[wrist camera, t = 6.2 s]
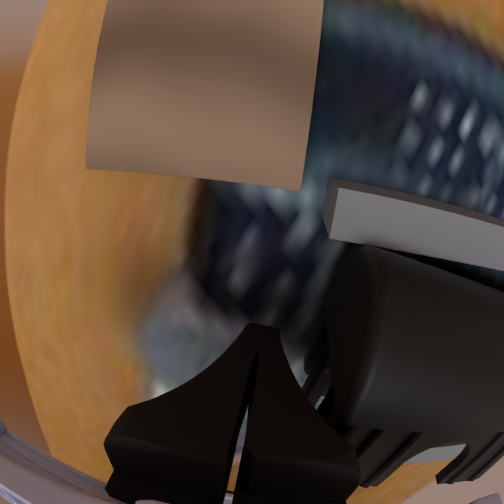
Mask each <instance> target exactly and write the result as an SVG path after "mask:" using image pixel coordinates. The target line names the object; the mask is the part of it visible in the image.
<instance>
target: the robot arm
mask: <svg viewBox="0 0 504 504" xmlns="http://www.w3.org/2000/svg"><path fill="white" fill-rule="evenodd" d="M248 404H249V405H248ZM247 407H248V417H247V428H246V436H245V441H244V446H243V451H242V456H241V461H240V466H239V471H238V476H237V481H236V485H235V490H234V494H230V493H226V490H227V486H228V481H229V477H230V472H231V468H232V463H233V458H234V454H235V449H236V445H237V440H238V436H239V433H240V429H241V426H242V423H243V420H244V417H245V414H246V411H247ZM104 448H105V451H106V453H107V455H108V458H109V460H110V462H111V464H112V466H113V469H114V471H113V473H112V475H111V477H110V479H109V481H108V483H105V482H103V481H101V480H98V479H96V478H94V477H92V476H89V475H87V474H85V473H83V472H81V471H79V470H77V469H75V468H73V467H71V466H69V465H67V464H65V463H63V462H61V461H59V460H58V459H56V458H54V457H52V456H50V455H48V454H47V453H45V452H43V451H42V450H40V449H38V448H36V447H35V446H33V445H32V444H30V443H28V442H27V441H25V440H24V439H22V438H21V437H19V436H17V435H16V434H14V433H13V432H12V431H10V430H8V429H7V427H6V425H5V423H4V422H3V420H2V419H1V417H0V495H1V496H2V497H4V498H5V499H6V500H7V501H9V502H10V503H11V504H346V500H347V499H348V497H349V496H350V495H351V494H352V493H353V492H354V491H355V490H356V488H357V487H358V486H359V484H360V482H361V470H360V465H359V461H358V457H357V454H356V451H355V448H354V446H352V445H351V444H350V443H349V442H347V441H346V440H345V439H344V438H343V437H341V436H340V435H339V434H338V433H337V432H336V431H335V430H333V429H332V428H331V427H330V425H329V424H328V423H327V422H326V421H325V420H324V419H323V418H322V416H321V415H320V414H319V413H318V412H317V410H316V409H315V408H314V407H313V406H312V404H311V403H310V401H309V400H308V398H307V397H306V395H305V394H304V392H303V391H302V389H301V387H300V386H299V384H298V382H297V380H296V378H295V376H294V374H293V372H292V370H291V368H290V366H289V363H288V361H287V358H286V356H285V353H284V350H283V347H282V343H281V340H280V335H279V330H278V328H277V327H271V326H265V325H259V324H253V323H248V324H246V326H245V328H244V329H243V331H242V332H241V333H240V335H239V336H238V337H237V339H236V340H235V341H234V342H233V343H232V344H231V345H230V347H229V348H228V349H227V350H226V351H225V352H224V353H223V354H222V355H221V356H220V357H219V358H218V359H216V360H215V361H214V362H213V363H212V364H211V365H210V366H208V367H207V368H206V369H205V370H203V371H202V372H201V373H199V374H198V375H197V376H195V377H194V378H192V379H190V380H189V381H187V382H186V383H184V384H182V385H181V386H179V387H177V388H175V389H173V390H171V391H169V392H167V393H165V394H163V395H160V396H158V397H156V398H154V399H151V400H148V401H145V402H142V403H139V404H136V405H132V406H128V407H127V408H126V409H125V411H124V412H123V413H122V414H121V415H120V417H119V418H118V419H117V420H116V422H115V423H114V425H113V426H112V428H111V430H110V432H109V433H108V435H107V437H106V439H105V441H104ZM469 504H502V501H501V498H500V495H499V493H495V494H493V495H489V496H486V497H483V498H480V499H477V500H475V501H473V502H471V503H469Z"/></svg>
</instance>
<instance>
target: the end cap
mask: <svg viewBox="0 0 504 504" xmlns="http://www.w3.org/2000/svg"><path fill="white" fill-rule="evenodd" d="M323 301H324V308H325V313H324V315H323V317H322V320H321V322H320V324H319V326H318V329H317V331H316V333H315V335H314V338H313V340H312V342H311V344H310V346H309V349H308V351H307V353H306V355H305V358H304V371H305V372H306V374H308V377H307V379H306V381H305V383H304V385H303V387H302V391H303V392H304V394H305V395H306V397H307V398H308V400H309V401H310V403H311V404H312V406H313V407H315V405H316V403H317V402H318V400H319V398H320V397H321V395H322V396H325V397H324V399H323V401H322V402H321V404H320V405H319V407H318V409H317V412H318V413H319V414H320V415H321V416H322V418H323V419H324V420H325V421H326V422H327V423H328V424H329V425H330V427H331V428H332V429H333V430H335V431H336V432H337V433H338V434H339V435H340V436H341V437H343V438H344V439H345V440H346V441H347V442H349V443H350V444H351V445H352V446H354V448H355V451H356V454H357V457H358V461H359V465H360V470H361V482H360V484H359V486H361V487H364V488H368V487H369V486H378V485H379V484H380V483H382V482H383V481H384V480H385V479H386V478H387V477H389V476H390V475H391V474H392V473H393V472H394V471H395V470H396V469H398V468H399V467H400V466H401V465H402V464H403V463H405V462H406V461H408V460H409V459H411V458H412V457H414V456H416V455H417V454H419V453H421V452H423V451H426V450H428V449H430V448H433V447H435V446H438V445H441V444H445V443H449V442H456V441H461V442H466V445H465V447H464V449H463V450H462V451H461V453H460V454H459V455H458V456H457V457H456V458H455V459H454V460H452V461H451V462H450V463H449V464H448V465H447V466H446V467H445V468H444V469H442V470H441V471H440V472H439V473H438V474H437V475H436V476H435V477H436V481H437V484H444V483H447V484H453V483H454V482H460V481H474V480H475V479H478V478H479V477H481V476H482V475H483V474H484V473H485V472H486V471H487V470H489V469H490V468H491V467H492V466H493V465H494V464H495V463H496V462H497V461H498V460H499V459H500V458H502V457H503V455H504V292H502V291H499V290H497V289H494V288H491V287H489V286H486V285H483V284H481V283H478V282H475V281H473V280H470V279H467V278H464V277H462V276H459V275H456V274H453V273H450V272H448V271H445V270H442V269H439V268H436V267H433V266H431V265H428V264H425V263H422V262H419V261H416V260H413V259H410V258H407V257H404V256H401V255H398V254H395V253H392V252H389V251H386V250H383V249H380V248H377V247H373V246H367V245H364V246H361V247H359V248H356V249H355V250H353V251H352V252H351V253H350V254H349V255H348V256H347V257H346V258H345V259H344V261H343V262H342V263H341V265H340V266H339V268H338V269H337V271H336V273H335V274H334V276H333V278H332V280H331V282H330V284H329V286H328V289H327V291H326V293H325V296H324V298H323Z"/></svg>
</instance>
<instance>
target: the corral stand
mask: <svg viewBox="0 0 504 504" xmlns="http://www.w3.org/2000/svg"><path fill="white" fill-rule="evenodd" d="M323 220H324V223H325V226H326V229H327V233H328V236H329V239H335V240H341V241H347V242H353V243H359V244H364V245H370V246H376V247H381V248H387V249H393V250H398V251H404V252H409V253H414V254H420V255H425V256H431V257H436V258H441V259H446V260H451V261H457V262H462V263H467V264H472V265H477V266H482V267H487V268H492V269H496V270H501V271H504V220H503V219H500V218H497V217H493V216H490V215H487V214H484V213H480V212H477V211H473V210H470V209H466V208H463V207H459V206H456V205H452V204H448V203H444V202H441V201H437V200H433V199H429V198H425V197H421V196H417V195H413V194H408V193H404V192H400V191H395V190H391V189H386V188H382V187H377V186H372V185H368V184H363V183H358V182H353V181H347V180H342V179H337V178H331V177H330V178H329V184H328V190H327V196H326V201H325V207H324V213H323ZM465 445H466V442H461V441H456V442H449V443H445V444H441V445H438V446H435V447H433V448H430V449H428V450H426V451H423V452H421V453H419V454H417V455H416V456H414V457H412V458H411V459H409V460H408V461H406V462H405V463H403V464H411V463H422V462H432V461H440V460H448V459H454V458H456V457H457V456H458V455H459V454H460V453H461V451H462V450H463V449H464V447H465Z"/></svg>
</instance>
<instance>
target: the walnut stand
mask: <svg viewBox="0 0 504 504" xmlns="http://www.w3.org/2000/svg"><path fill="white" fill-rule="evenodd" d="M323 3H324V0H108V3H107V7H106V11H105V15H104V19H103V24H102V28H101V33H100V38H99V44H98V49H97V55H96V61H95V67H94V74H93V81H92V89H91V98H90V108H89V119H88V133H87V152H86V169H96V170H113V171H128V172H141V173H153V174H165V175H175V176H185V177H195V178H204V179H213V180H221V181H229V182H237V183H245V184H252V185H260V186H267V187H274V188H280V189H287V190H293V191H300V190H301V184H302V177H303V170H304V163H305V157H306V149H307V142H308V135H309V128H310V120H311V113H312V105H313V97H314V89H315V80H316V72H317V63H318V54H319V44H320V35H321V25H322V14H323Z"/></svg>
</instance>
